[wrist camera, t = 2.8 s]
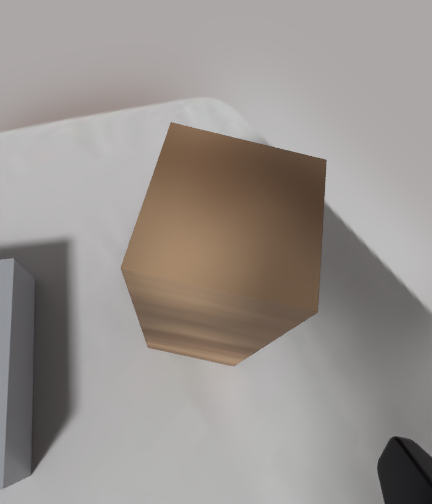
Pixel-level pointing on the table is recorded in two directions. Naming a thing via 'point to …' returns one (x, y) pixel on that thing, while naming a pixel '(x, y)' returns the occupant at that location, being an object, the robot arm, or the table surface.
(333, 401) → the table surface
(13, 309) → the plate
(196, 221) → the walnut block
